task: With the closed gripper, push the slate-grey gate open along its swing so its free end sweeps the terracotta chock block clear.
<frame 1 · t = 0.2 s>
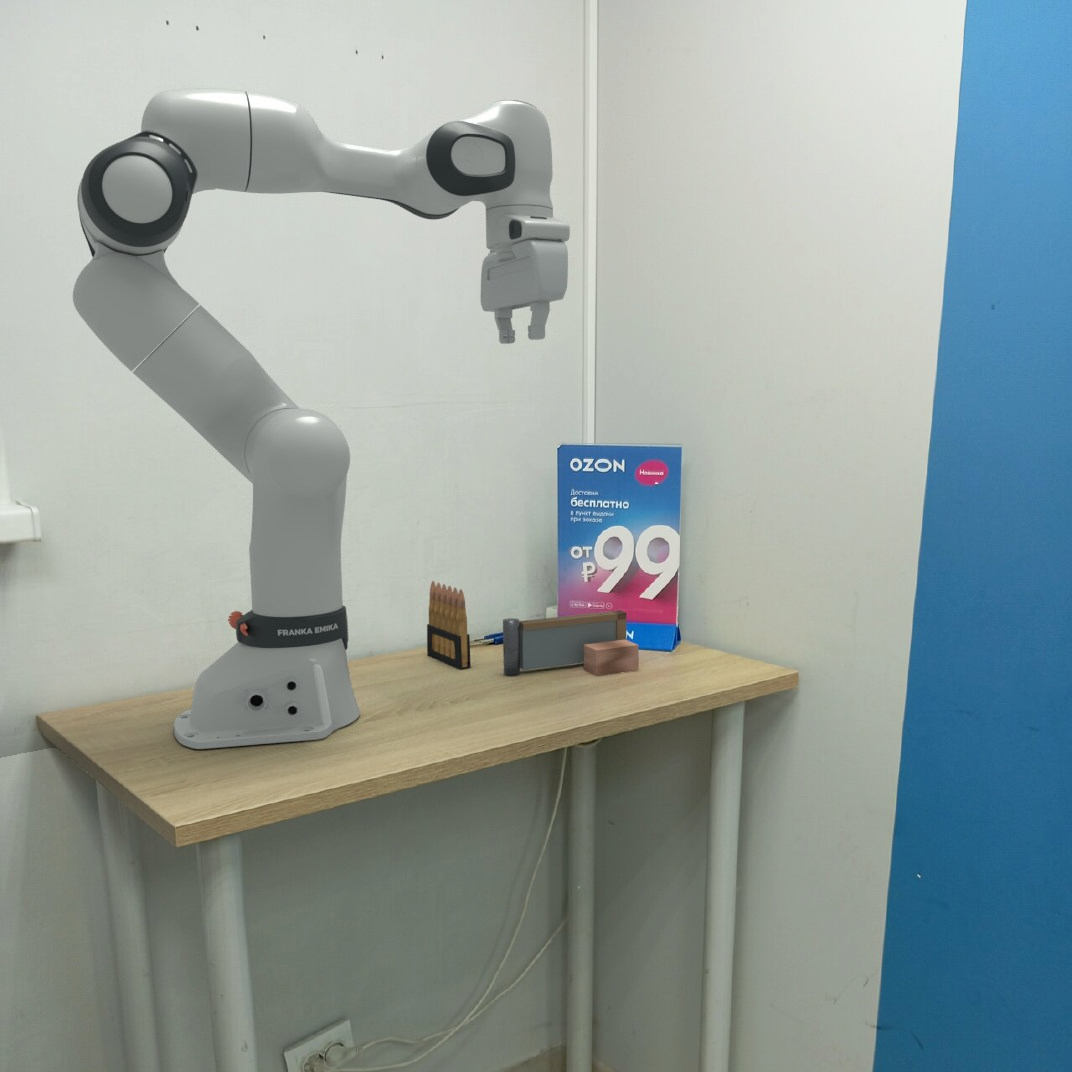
hand: (521, 341, 136), 47 cm above the table, tool pointing down, fingers open, 8 cm apart
gate: (573, 639, 153), point 4 cm above the table, hinge at 0.0°
ammunition clip: (448, 663, 157), on the table
hinge post: (511, 673, 150), on the table
chock block: (611, 671, 151), on the table
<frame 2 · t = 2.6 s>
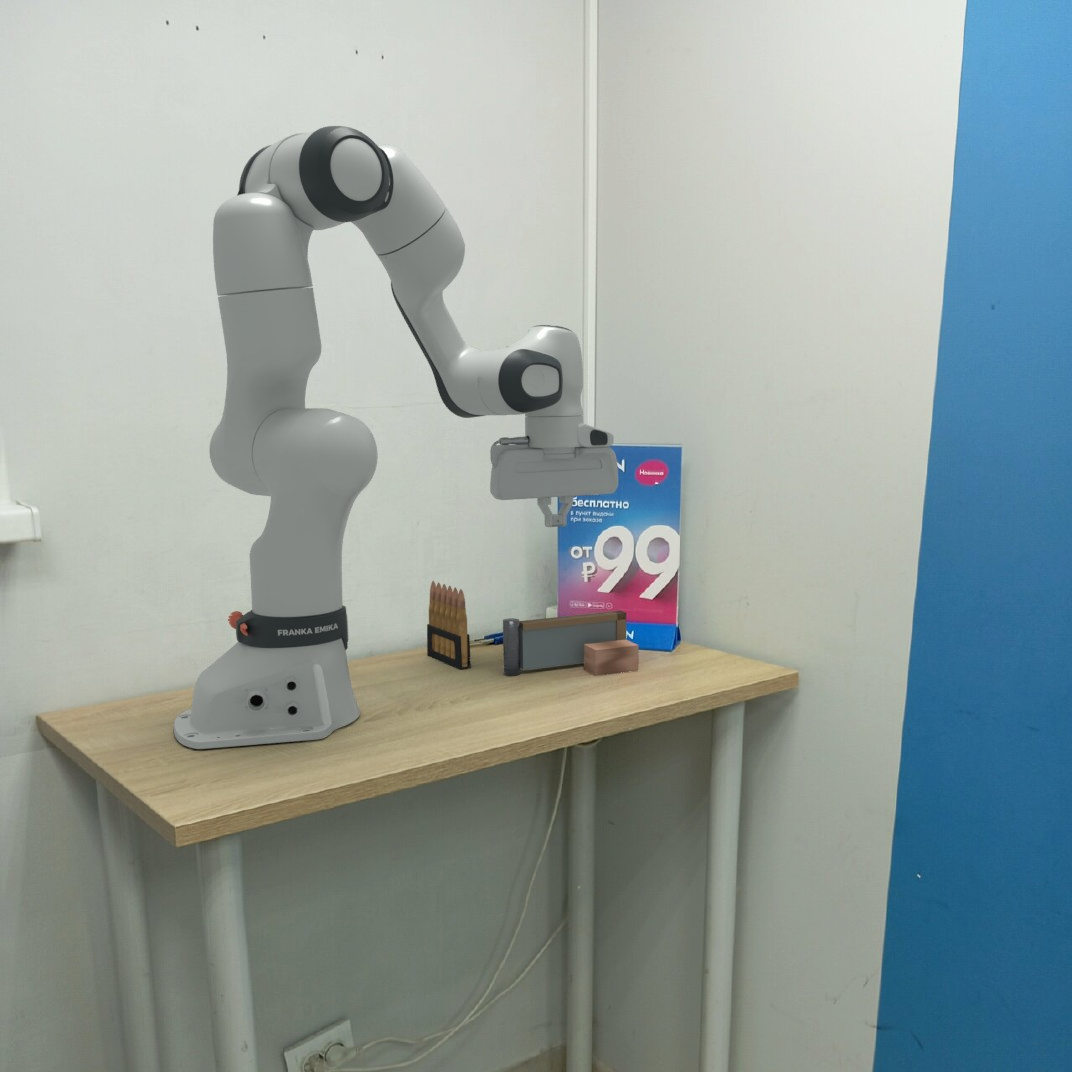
hand: (555, 526, 156), 20 cm above the table, tool pointing down, fingers closed
nothing on the table moved.
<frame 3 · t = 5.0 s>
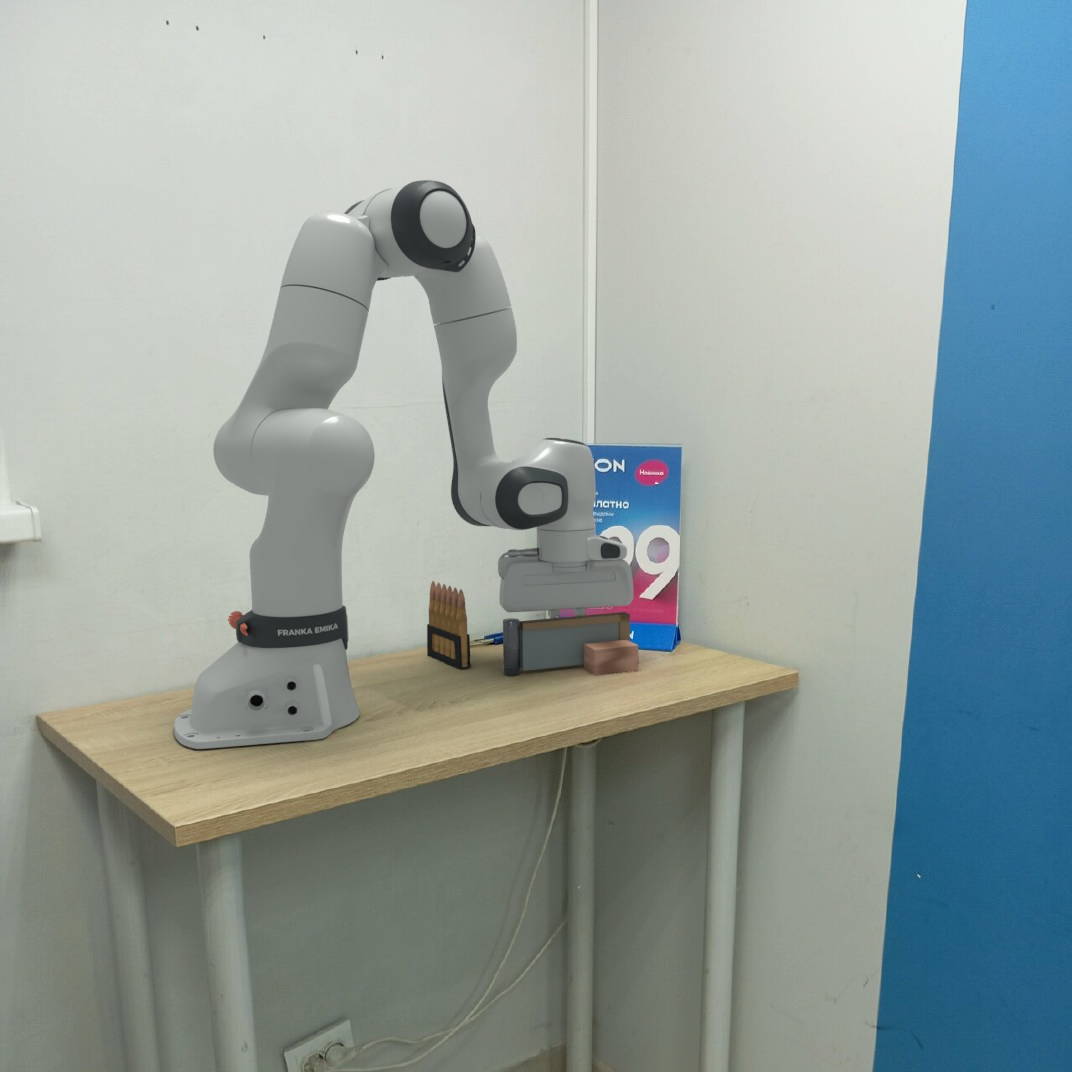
hand: (566, 637, 154), 4 cm above the table, tool pointing down, fingers closed
gate: (575, 640, 152), point 4 cm above the table, hinge at -4.0°, touching gripper
everything else where it was.
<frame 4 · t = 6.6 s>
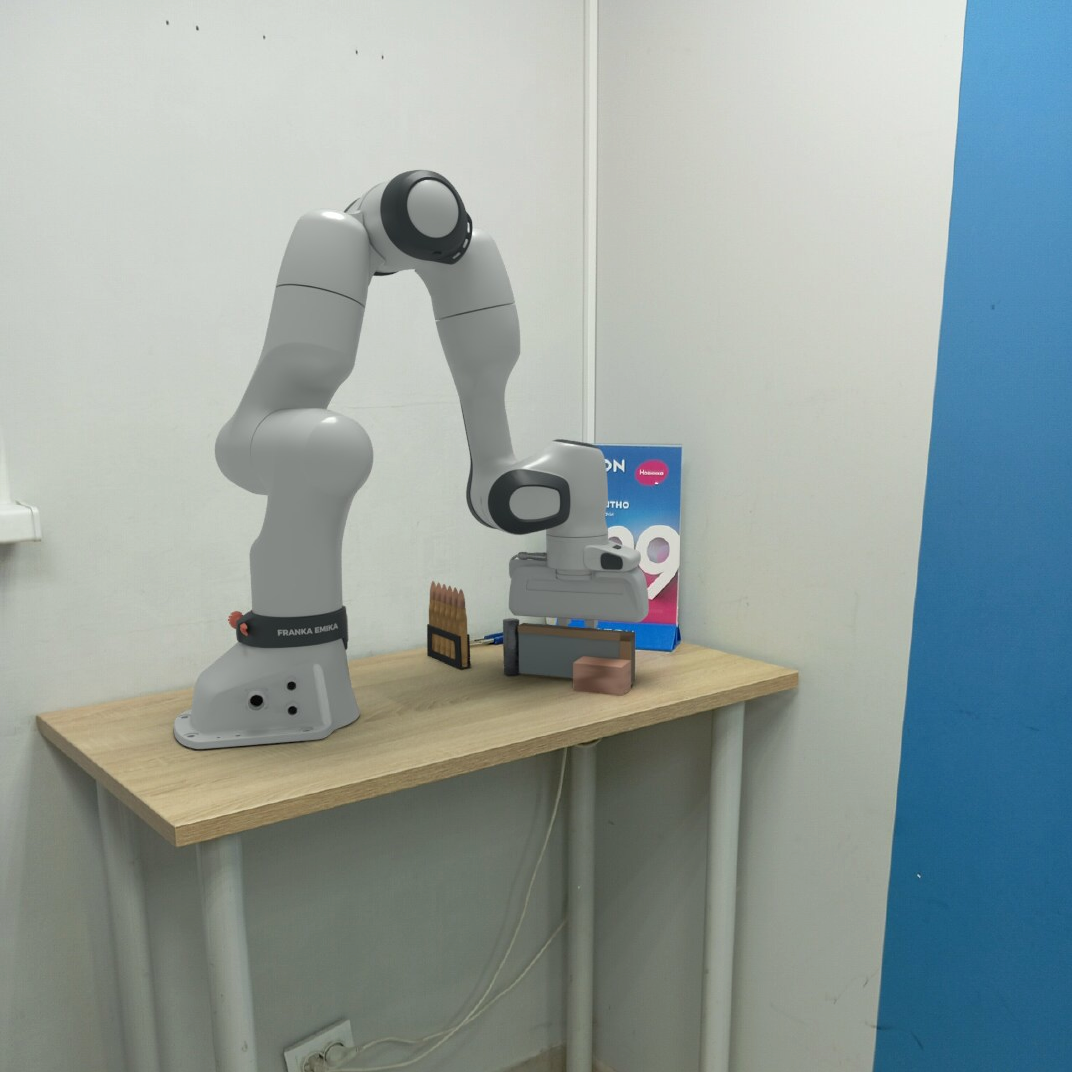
hand: (578, 648, 147), 4 cm above the table, tool pointing down, fingers closed
gate: (575, 652, 145), point 4 cm above the table, hinge at -46.8°, touching chock block, gripper
chock block: (602, 689, 141), on the table, touching gate
everything else where it was.
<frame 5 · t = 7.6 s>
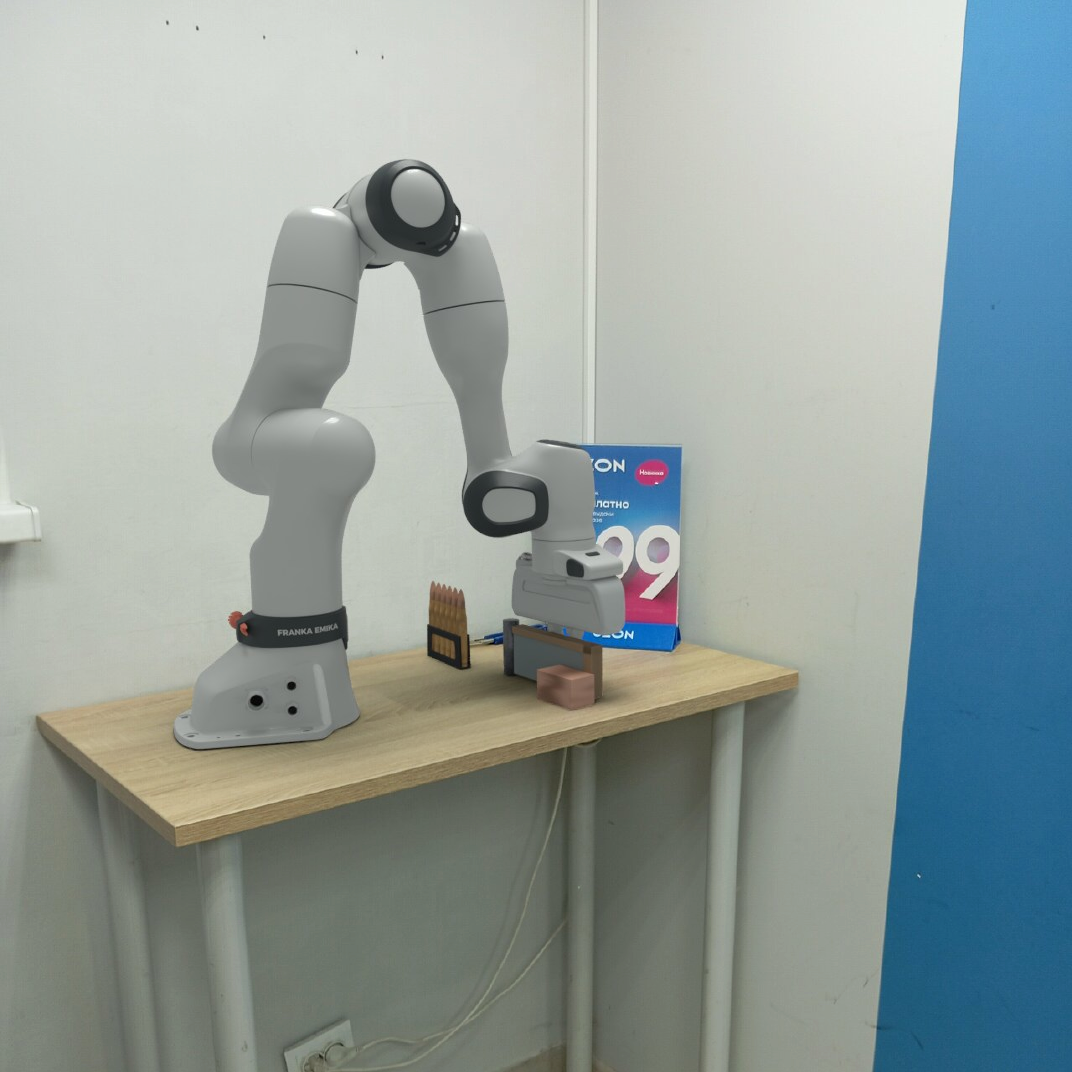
hand: (566, 656, 142), 4 cm above the table, tool pointing down, fingers closed, pressing on gate
gate: (555, 659, 141), point 4 cm above the table, hinge at -75.0°, touching chock block, gripper
chock block: (565, 701, 136), on the table, touching gate
everything else where it was.
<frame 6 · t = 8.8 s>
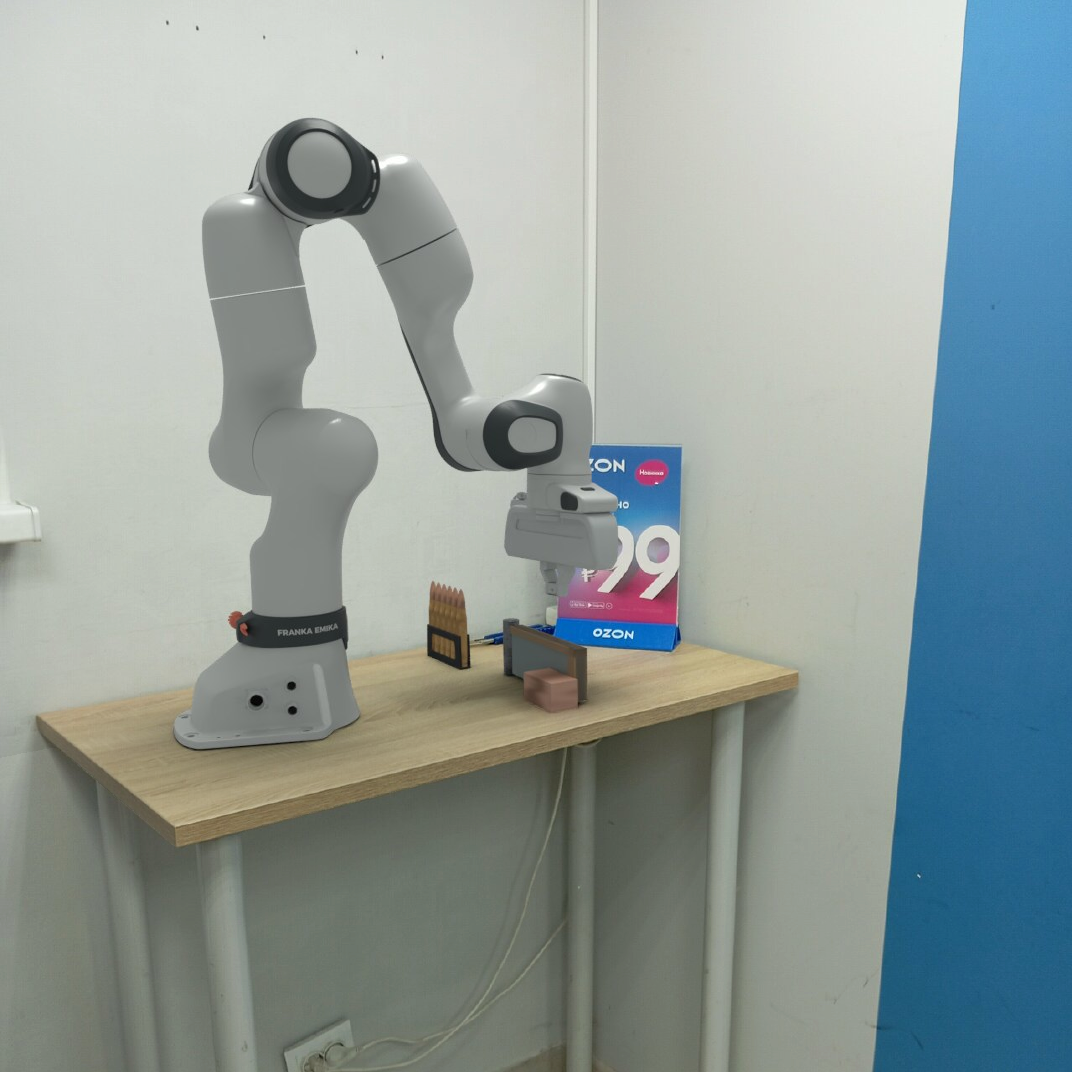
hand: (556, 595, 141), 13 cm above the table, tool pointing down, fingers closed
gate: (547, 661, 140), point 4 cm above the table, hinge at -83.3°
chock block: (550, 705, 135), on the table
everything else where it was.
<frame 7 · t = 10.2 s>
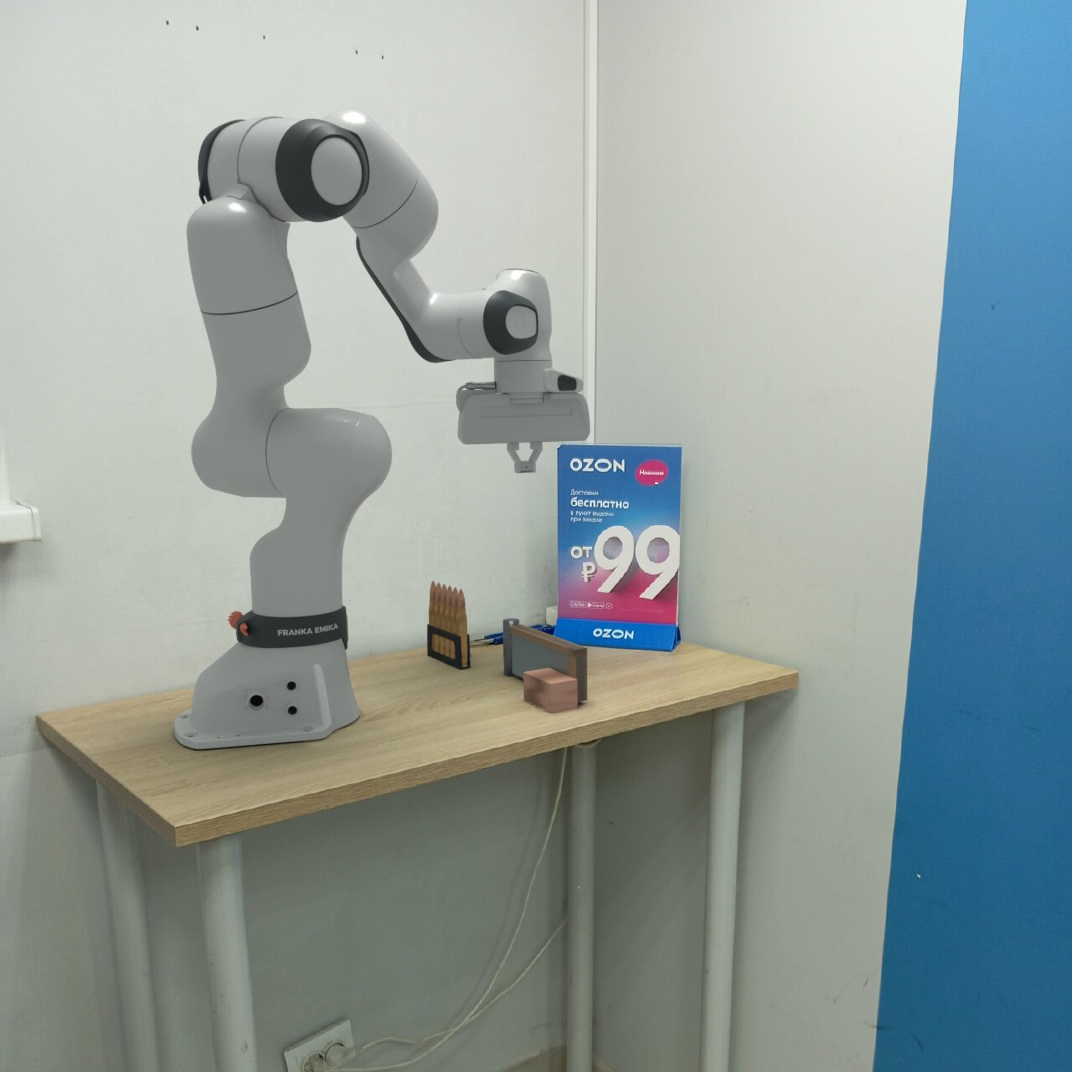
hand: (525, 472, 156), 29 cm above the table, tool pointing down, fingers closed
nothing on the table moved.
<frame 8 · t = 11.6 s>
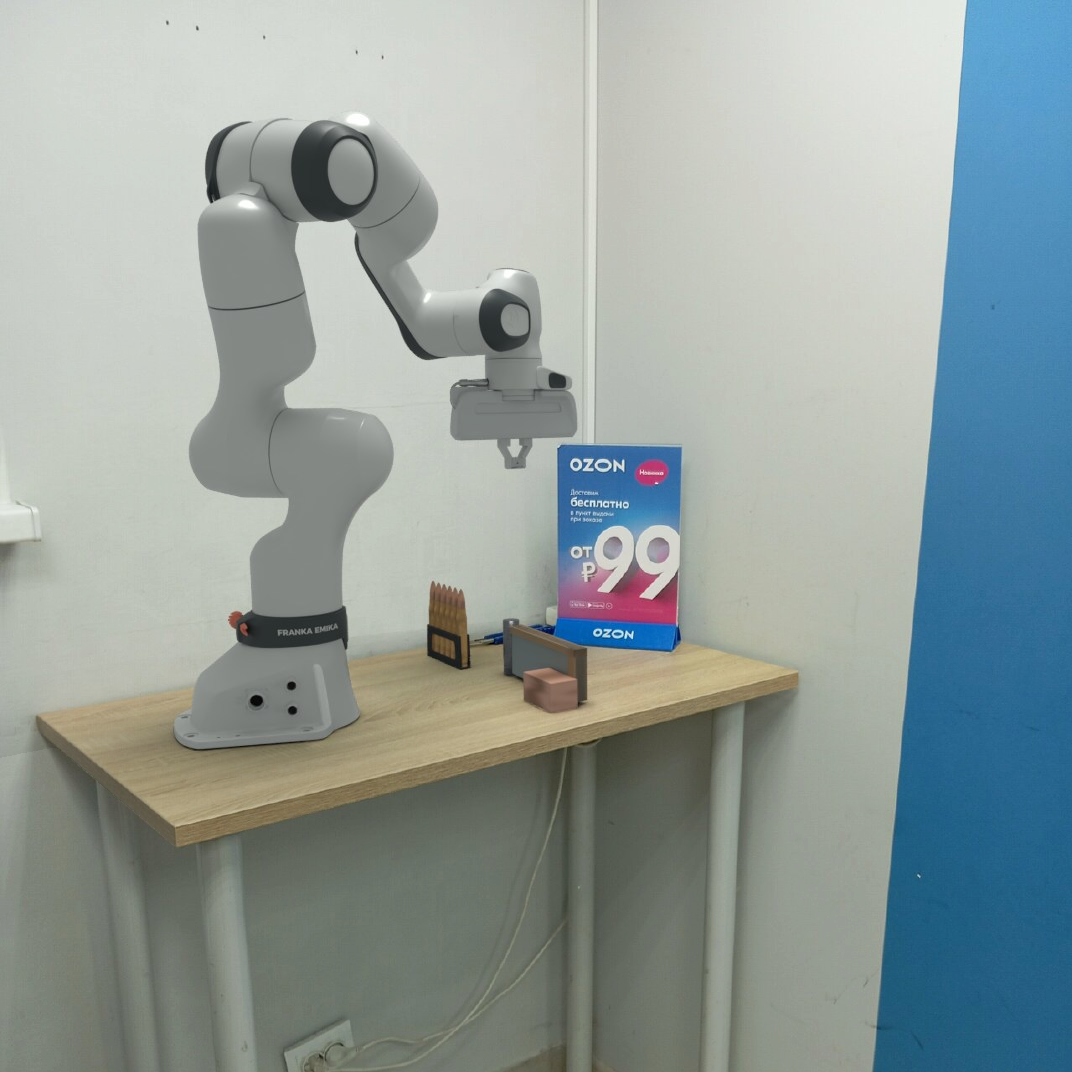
hand: (515, 468, 159), 29 cm above the table, tool pointing down, fingers closed
nothing on the table moved.
at the end: gate at -83° (first picture: +0°); chock block moved 19.0 cm from its start; chock block on the table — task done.
